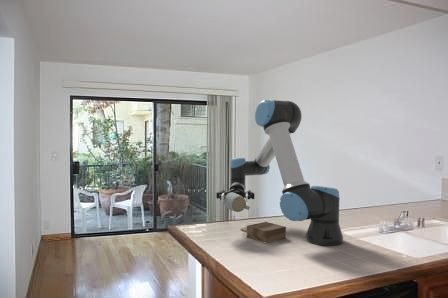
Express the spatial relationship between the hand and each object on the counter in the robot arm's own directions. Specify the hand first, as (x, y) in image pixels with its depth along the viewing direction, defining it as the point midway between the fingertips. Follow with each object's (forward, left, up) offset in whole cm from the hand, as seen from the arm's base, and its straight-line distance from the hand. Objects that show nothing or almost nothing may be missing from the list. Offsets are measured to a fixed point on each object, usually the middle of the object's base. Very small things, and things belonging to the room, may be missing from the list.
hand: (234, 198), depth 155 cm
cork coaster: (+9, -18, -18) cm, 27 cm away
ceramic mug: (+3, -4, -6) cm, 8 cm away
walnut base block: (-6, -14, -18) cm, 23 cm away
